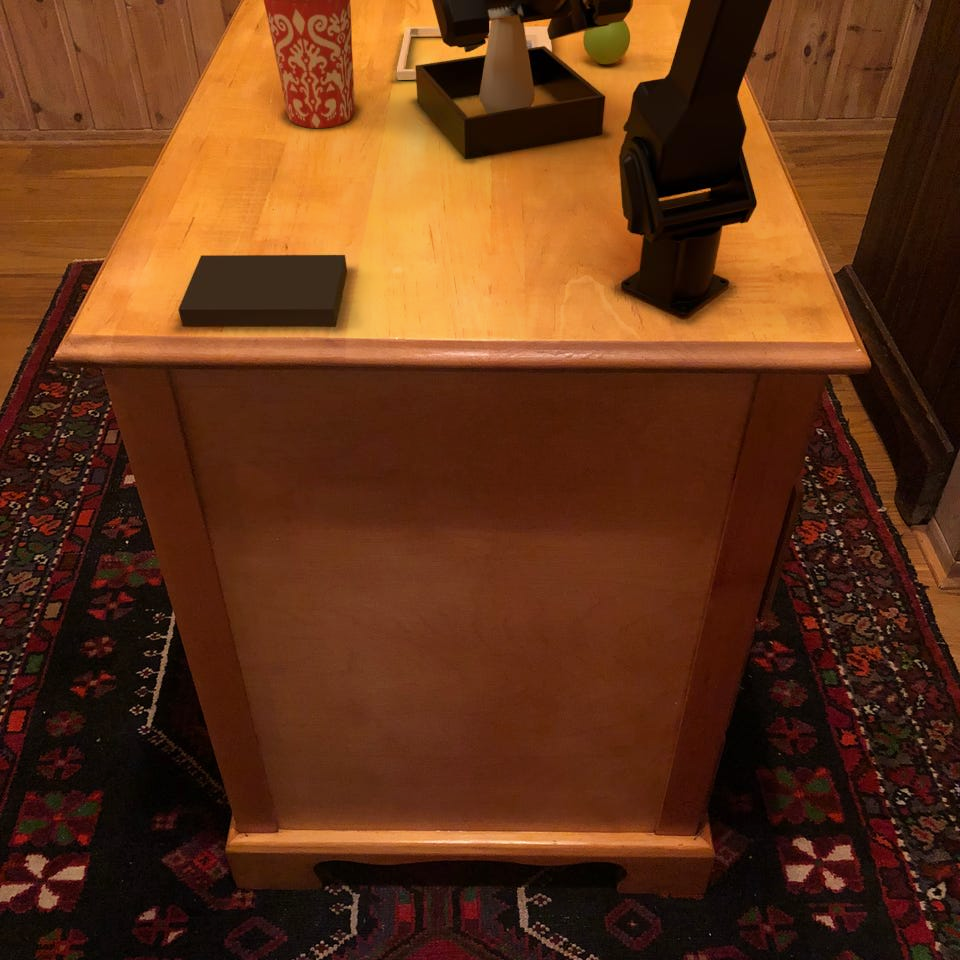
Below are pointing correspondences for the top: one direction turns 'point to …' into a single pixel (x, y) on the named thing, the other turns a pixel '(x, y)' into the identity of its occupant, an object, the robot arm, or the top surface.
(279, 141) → the top surface
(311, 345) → the top surface
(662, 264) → the robot arm
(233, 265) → the mat
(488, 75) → the salt shaker
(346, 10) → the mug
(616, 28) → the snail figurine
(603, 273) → the top surface
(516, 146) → the black open square box
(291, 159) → the top surface
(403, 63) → the photo frame
